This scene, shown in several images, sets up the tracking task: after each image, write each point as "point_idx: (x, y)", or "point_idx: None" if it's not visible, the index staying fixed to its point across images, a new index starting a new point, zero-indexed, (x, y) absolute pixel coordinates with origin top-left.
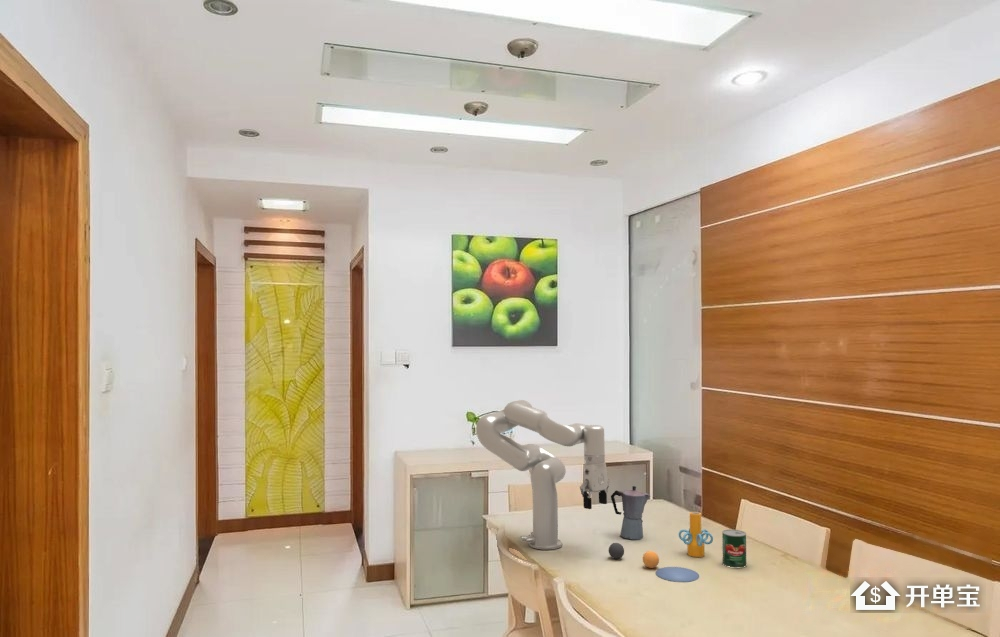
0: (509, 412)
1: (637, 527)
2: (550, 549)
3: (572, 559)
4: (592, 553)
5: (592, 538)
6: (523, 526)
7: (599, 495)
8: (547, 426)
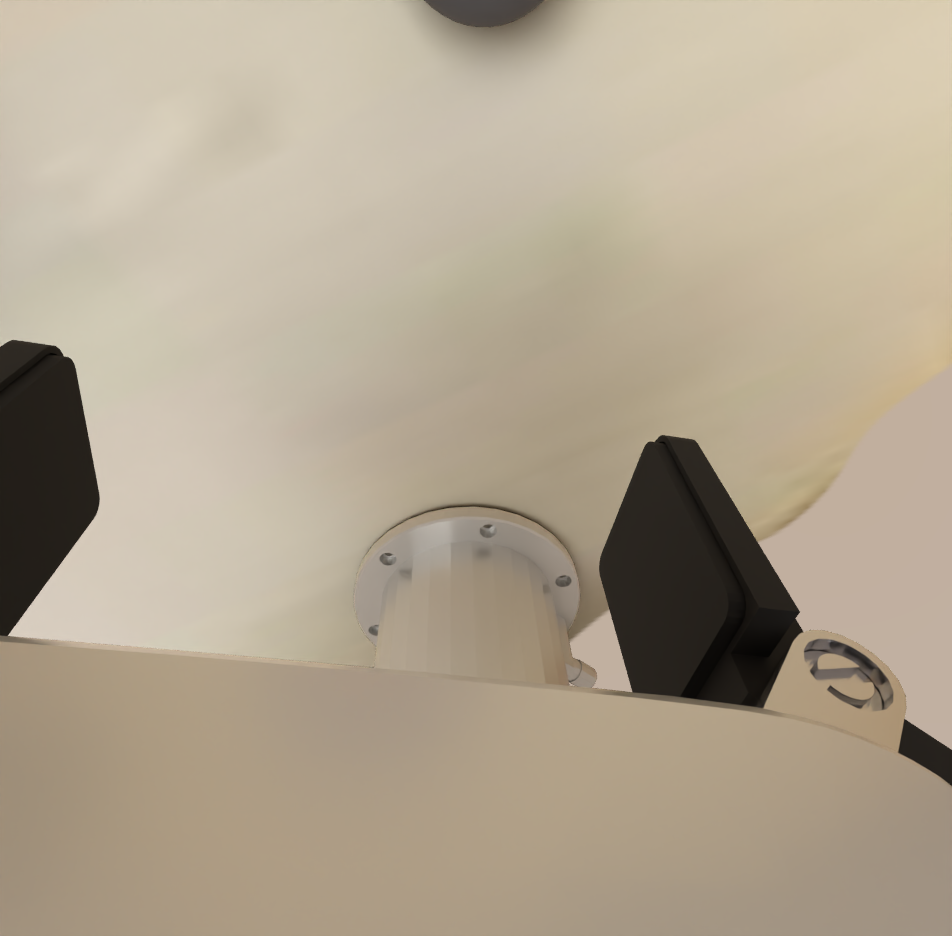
0: None
1: None
2: (547, 532)
3: (685, 318)
4: (455, 242)
5: (87, 419)
6: None
7: (4, 618)
8: None
